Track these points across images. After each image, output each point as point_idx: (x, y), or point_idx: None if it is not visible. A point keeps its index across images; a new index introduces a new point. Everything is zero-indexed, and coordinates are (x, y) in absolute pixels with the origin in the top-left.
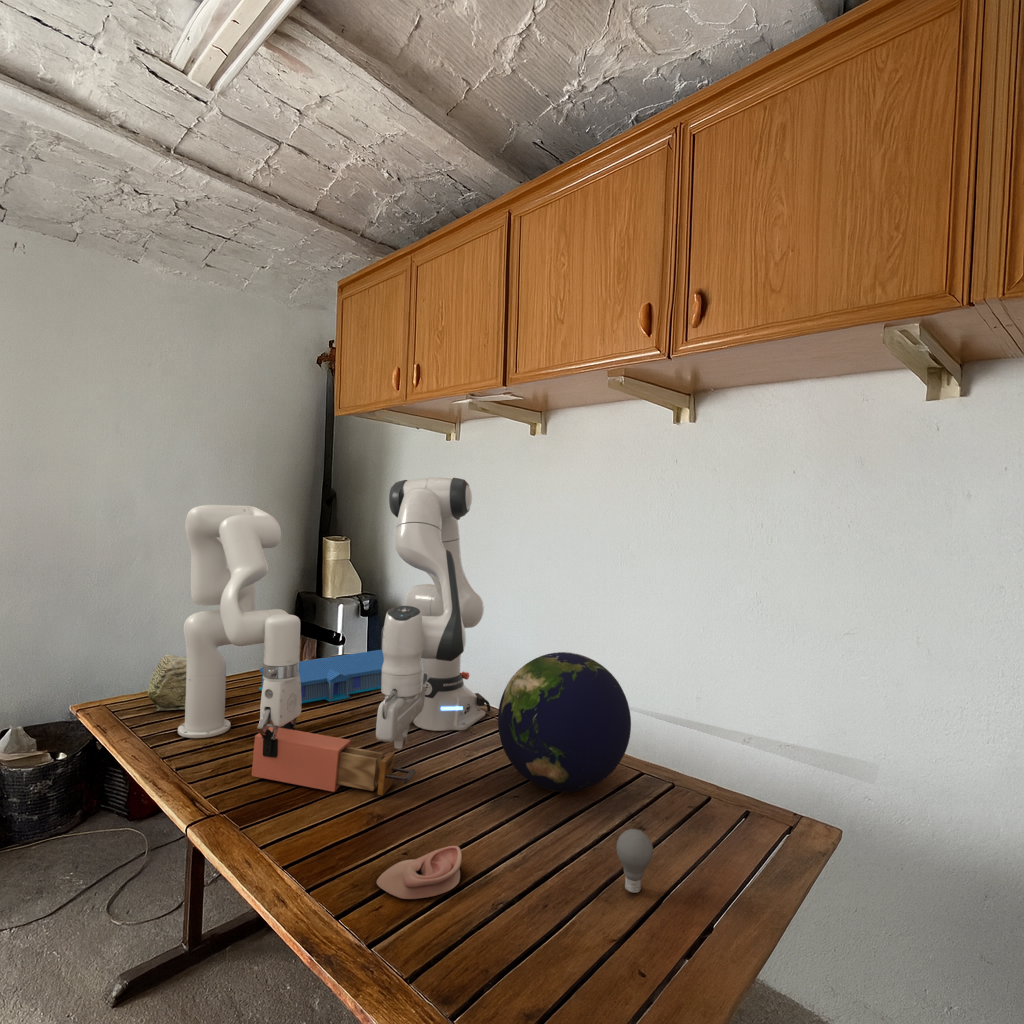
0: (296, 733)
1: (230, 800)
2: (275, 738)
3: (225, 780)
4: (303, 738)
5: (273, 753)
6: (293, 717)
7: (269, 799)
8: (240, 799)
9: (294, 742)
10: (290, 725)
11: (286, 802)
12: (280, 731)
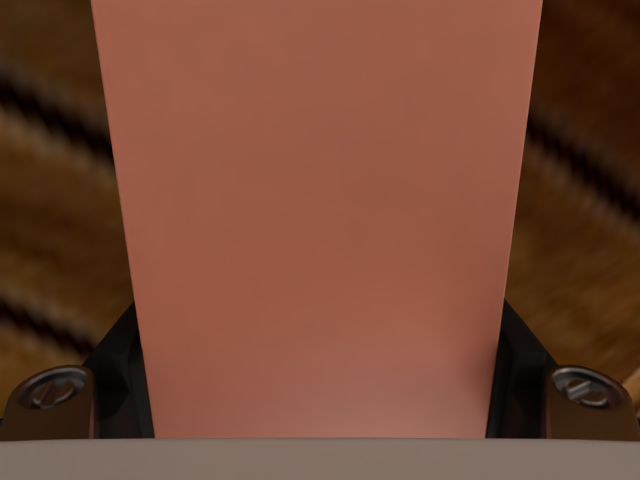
0: (223, 253)
1: (609, 306)
2: (549, 370)
3: None
4: (340, 72)
5: None
6: (224, 466)
7: (585, 131)
8: (596, 271)
9: (524, 114)
10: (117, 417)
11: (616, 9)
12: (262, 436)
